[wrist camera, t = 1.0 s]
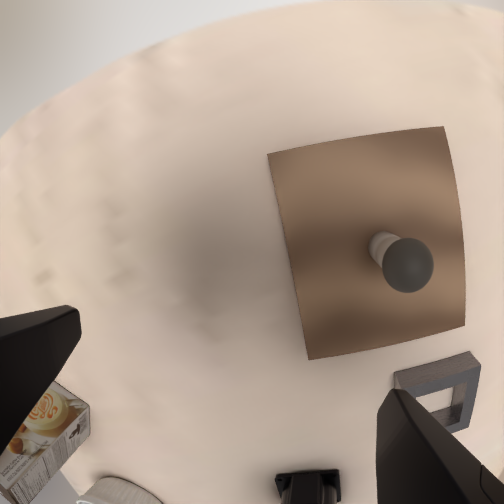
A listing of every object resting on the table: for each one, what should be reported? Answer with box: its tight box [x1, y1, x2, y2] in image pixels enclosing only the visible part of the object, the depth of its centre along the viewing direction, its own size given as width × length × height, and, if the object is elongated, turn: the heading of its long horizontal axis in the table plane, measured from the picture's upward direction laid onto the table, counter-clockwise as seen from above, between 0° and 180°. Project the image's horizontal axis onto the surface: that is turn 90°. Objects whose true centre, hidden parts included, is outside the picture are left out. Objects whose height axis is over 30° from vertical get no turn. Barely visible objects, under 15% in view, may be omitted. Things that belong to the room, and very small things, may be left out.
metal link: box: [394, 351, 481, 433], centre depth 20 cm, size 7×7×2 cm
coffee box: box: [0, 381, 90, 504], centre depth 21 cm, size 9×6×16 cm
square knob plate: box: [267, 126, 466, 360], centre depth 16 cm, size 14×12×8 cm
